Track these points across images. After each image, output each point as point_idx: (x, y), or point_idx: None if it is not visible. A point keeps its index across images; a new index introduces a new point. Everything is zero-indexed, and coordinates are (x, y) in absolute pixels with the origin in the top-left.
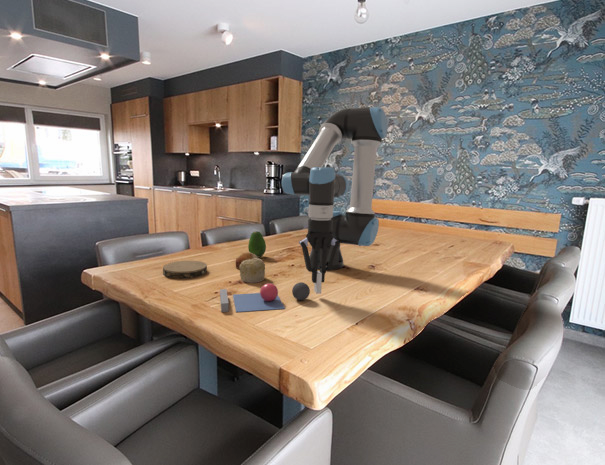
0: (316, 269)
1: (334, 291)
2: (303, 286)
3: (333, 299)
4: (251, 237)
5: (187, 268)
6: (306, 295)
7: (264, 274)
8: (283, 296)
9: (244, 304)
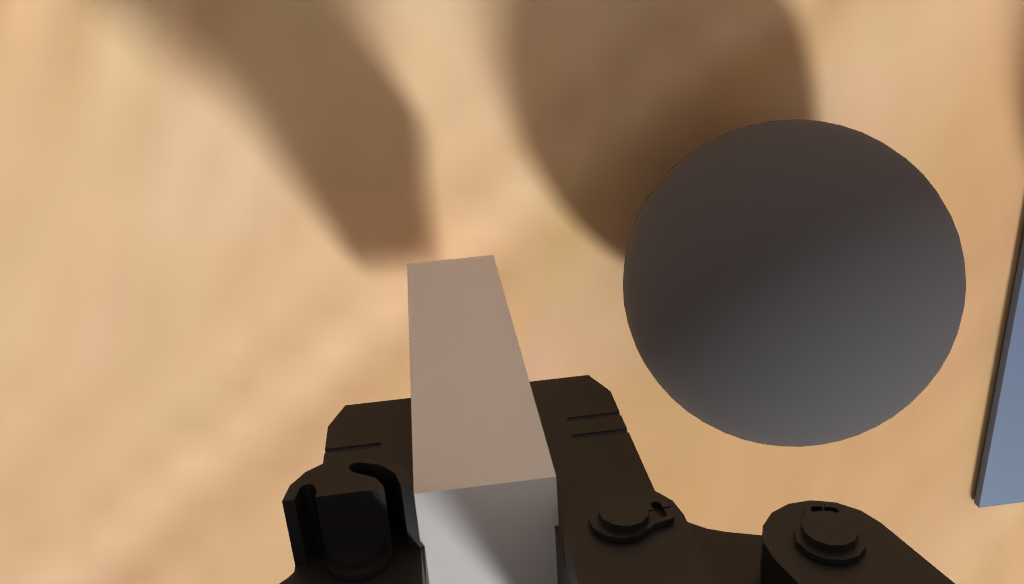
0: (613, 573)
1: (118, 534)
2: (836, 228)
3: (186, 206)
4: None
5: None
6: (715, 139)
7: None
8: None
9: None
